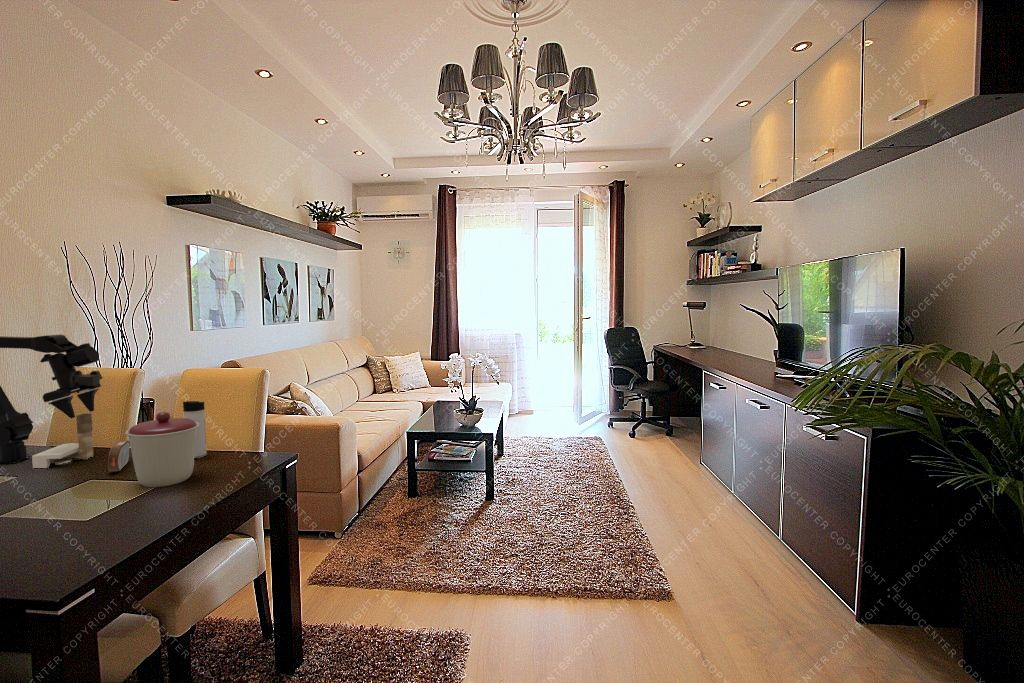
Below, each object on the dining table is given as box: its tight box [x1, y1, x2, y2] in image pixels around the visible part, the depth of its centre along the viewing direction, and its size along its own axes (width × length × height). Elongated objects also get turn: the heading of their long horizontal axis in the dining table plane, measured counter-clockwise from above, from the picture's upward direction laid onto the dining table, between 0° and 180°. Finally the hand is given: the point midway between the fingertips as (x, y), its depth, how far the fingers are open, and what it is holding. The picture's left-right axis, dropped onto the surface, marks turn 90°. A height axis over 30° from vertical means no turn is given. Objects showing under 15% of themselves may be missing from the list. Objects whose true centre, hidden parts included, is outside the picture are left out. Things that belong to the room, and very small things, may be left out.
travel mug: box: [182, 400, 208, 458], centre depth 173 cm, size 6×7×20 cm
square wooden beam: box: [49, 413, 94, 465], centre depth 167 cm, size 9×9×15 cm
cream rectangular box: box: [31, 442, 79, 469], centre depth 168 cm, size 8×14×4 cm, turn 8°
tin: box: [107, 439, 131, 473], centre depth 162 cm, size 15×3×8 cm, turn 25°
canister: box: [124, 411, 199, 488], centre depth 150 cm, size 18×18×21 cm
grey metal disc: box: [53, 458, 73, 464], centre depth 166 cm, size 4×4×1 cm
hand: (82, 414), depth 170 cm, fingers open, 9 cm apart
